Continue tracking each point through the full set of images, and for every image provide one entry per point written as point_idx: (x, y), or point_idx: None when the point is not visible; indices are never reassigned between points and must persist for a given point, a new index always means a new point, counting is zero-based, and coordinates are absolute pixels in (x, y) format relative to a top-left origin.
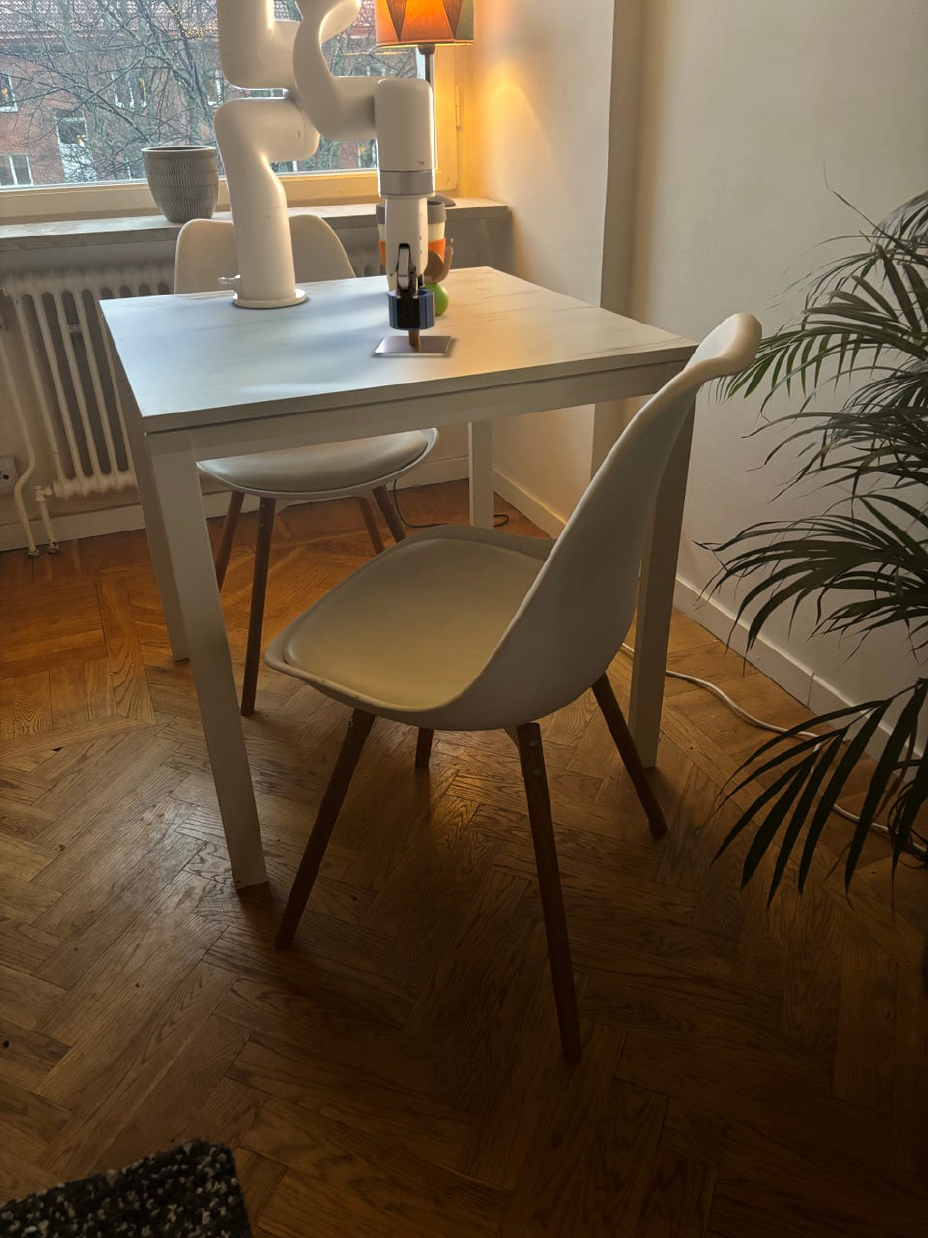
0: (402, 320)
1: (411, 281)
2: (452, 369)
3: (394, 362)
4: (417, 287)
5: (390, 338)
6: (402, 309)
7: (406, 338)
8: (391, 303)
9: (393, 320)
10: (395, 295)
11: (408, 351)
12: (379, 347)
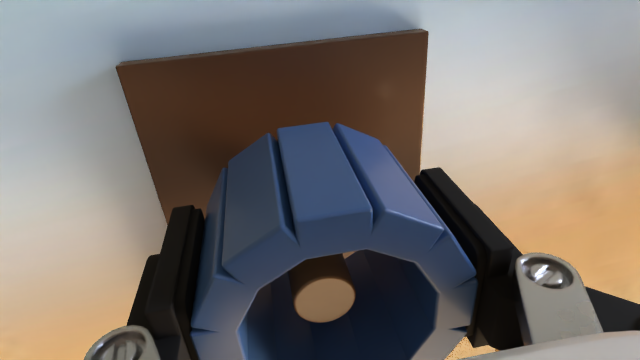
0: (150, 256)
1: (516, 318)
2: (56, 341)
3: (65, 163)
4: (480, 319)
5: (378, 68)
6: (136, 301)
7: (378, 133)
8: (232, 225)
9: (228, 180)
10: (242, 281)
11: (175, 194)
12: (212, 62)
